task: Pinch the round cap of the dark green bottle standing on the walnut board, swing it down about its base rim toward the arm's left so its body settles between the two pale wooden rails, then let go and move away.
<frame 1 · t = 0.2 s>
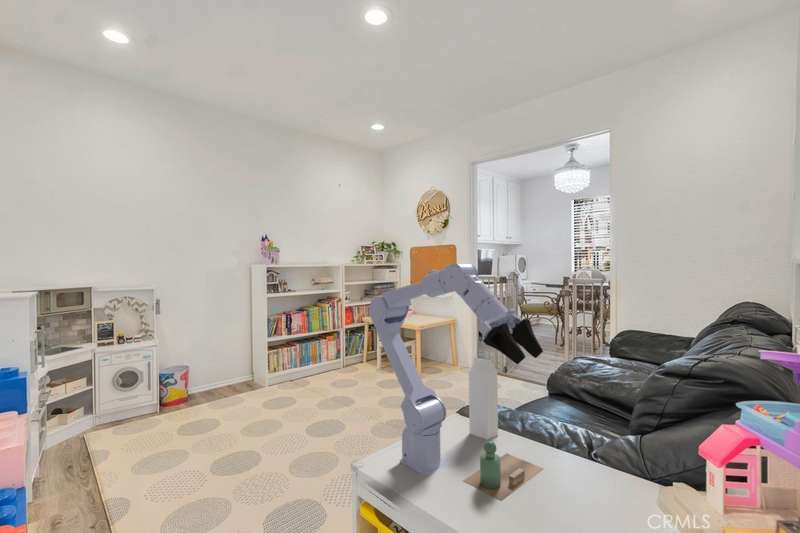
hand: (530, 357, 72), 31 cm above the table, tool tilted 45°, fingers open, 7 cm apart
rest board: (504, 477, 87), on the table
milk: (483, 435, 108), on the table
bottle: (490, 483, 83), point 1 cm above the table, touching rest board
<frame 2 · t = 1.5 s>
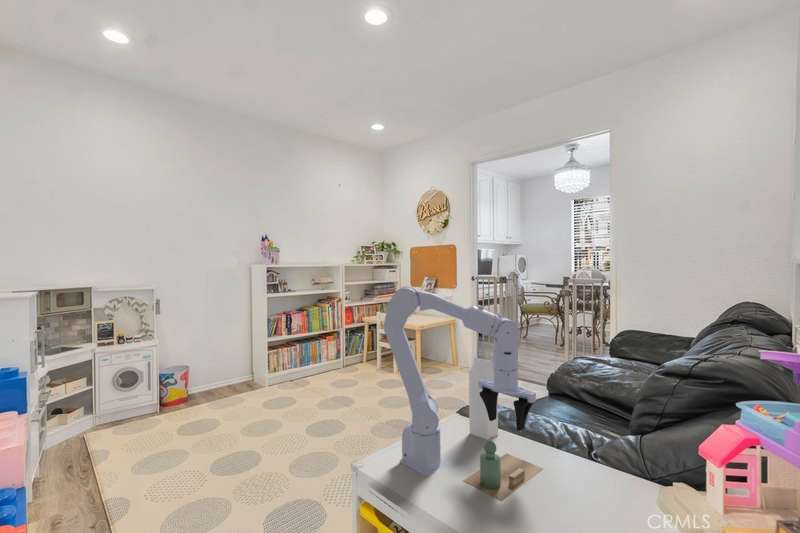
hand: (506, 424, 91), 10 cm above the table, tool pointing down, fingers open, 7 cm apart
nothing on the table moved.
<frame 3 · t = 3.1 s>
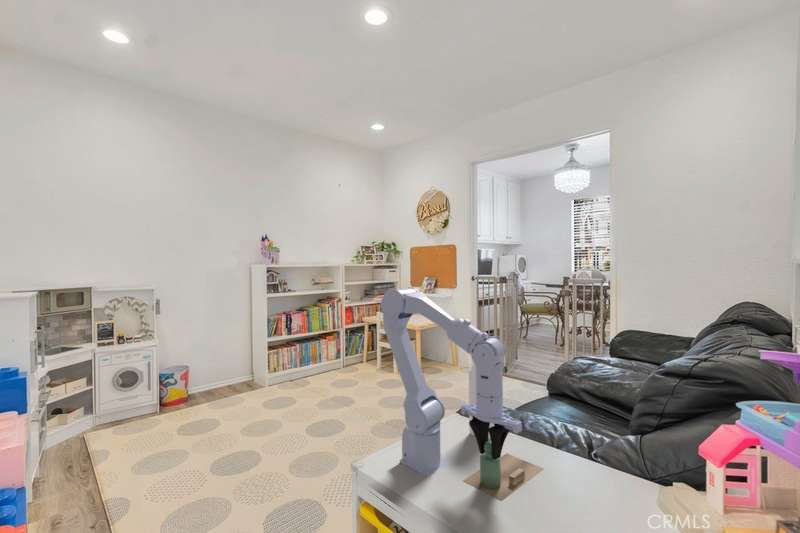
hand: (490, 454, 83), 7 cm above the table, tool pointing down, fingers closed on bottle, 3 cm apart
bottle: (490, 483, 83), point 1 cm above the table, touching gripper, rest board
everything else where it was.
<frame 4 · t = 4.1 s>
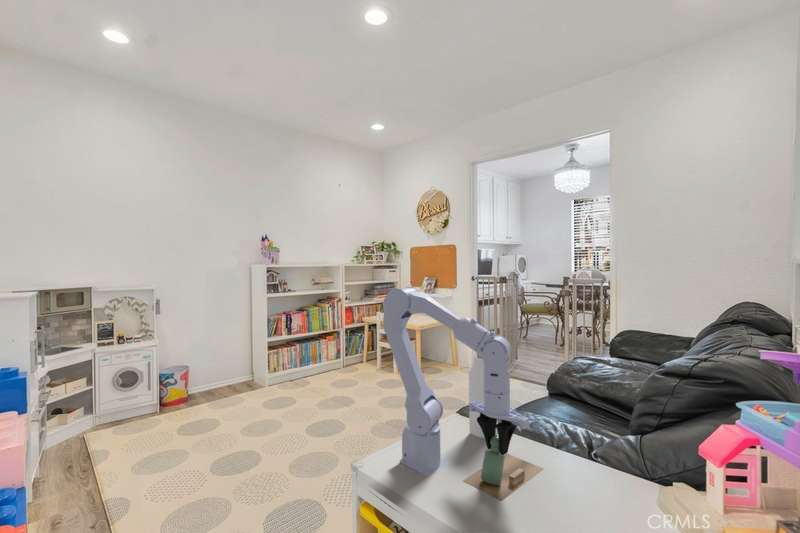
hand: (497, 450, 85), 7 cm above the table, tool pointing down, fingers closed on bottle, 3 cm apart
bottle: (490, 480, 83), point 1 cm above the table, tilted 17°, touching gripper, rest board
everything else where it was.
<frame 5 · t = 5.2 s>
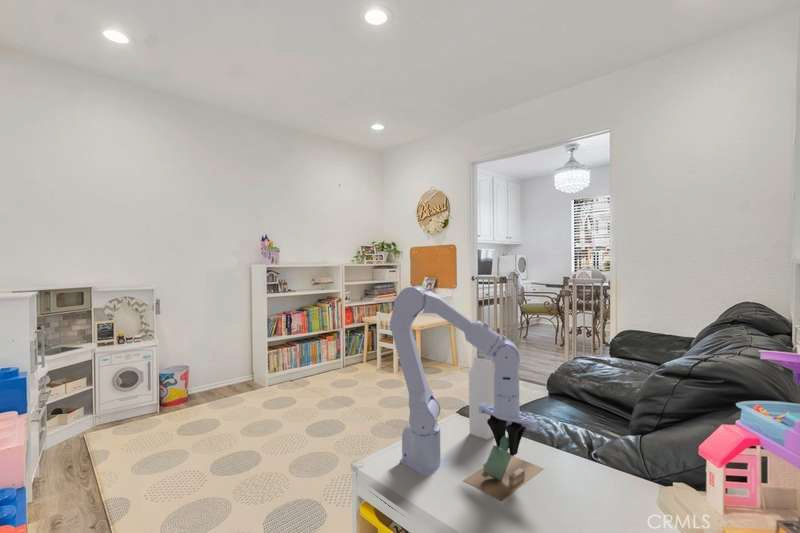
hand: (507, 451, 87), 5 cm above the table, tool pointing down, fingers closed on bottle, 3 cm apart
bottle: (492, 475, 83), point 2 cm above the table, tilted 45°, touching gripper, rest board
everything else where it was.
when the fingers open (2 cm above the table, at t = 6.5 s): bottle stays where it is and tips over, resting on rest board.
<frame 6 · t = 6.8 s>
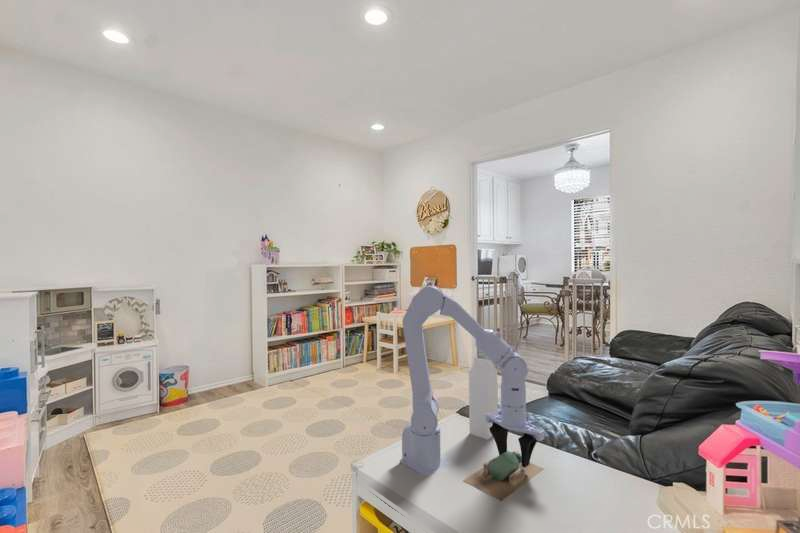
hand: (514, 460, 89), 2 cm above the table, tool pointing down, fingers open, 5 cm apart
bottle: (496, 470, 84), point 3 cm above the table, tilted 90°, touching rest board
everything else where it was.
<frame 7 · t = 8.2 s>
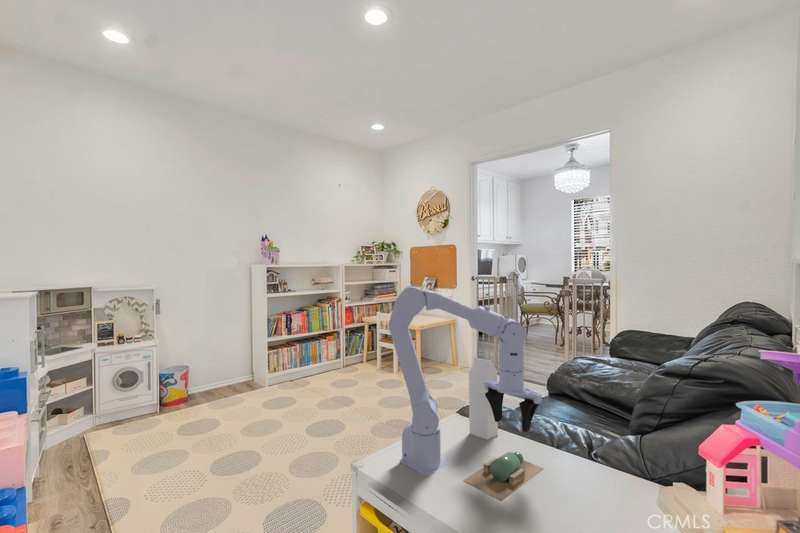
hand: (511, 425, 91), 10 cm above the table, tool pointing down, fingers open, 7 cm apart
nothing on the table moved.
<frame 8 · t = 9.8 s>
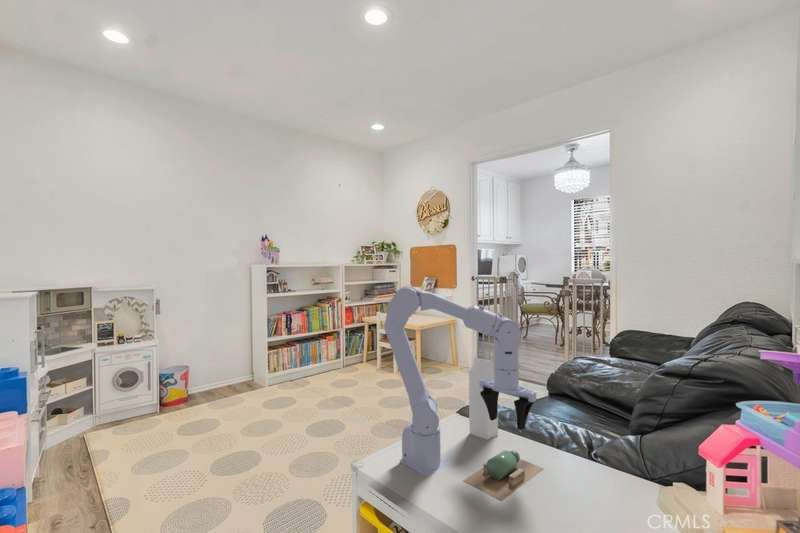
hand: (506, 423, 91), 10 cm above the table, tool pointing down, fingers open, 7 cm apart
at the end: bottle tilted 90°; bottle 0.7 cm from the target spot, point 2.8 cm above the table; the gripper is holding nothing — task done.
